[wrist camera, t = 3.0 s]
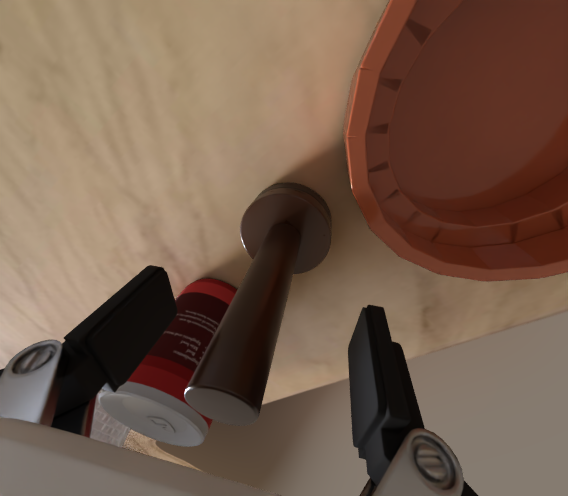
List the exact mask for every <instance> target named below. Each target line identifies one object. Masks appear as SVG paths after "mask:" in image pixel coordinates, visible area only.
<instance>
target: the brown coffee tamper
mask: <svg viewBox="0 0 568 496" xmlns="http://www.w3.org/2000/svg"><path fill="white" fill-rule="evenodd" d="M240 233H241V239H242V242H243V245H244V247H245V249H246V251H247V252H248V254H249V255H250V256H251V257H252V258H253V261H252V263H251V265H250V267H249V269H248V271H247V273H246V275H245V277H244V278H243V280H242V282H241V284H240V286H239V288H238V290H237V292H236V294H235V296H234V298H233V299H232V301H231V303H230V305H229V307H228V309H227V311H226V313H225V315H224V317H223V319H222V320H221V322H220V324H219V326H218V328H217V330H216V332H215V334H214V336H213V338H212V340H211V341H210V343H209V345H208V347H207V349H206V351H205V353H204V355H203V357H202V359H201V361H200V362H199V364H198V366H197V368H196V370H195V372H194V374H193V376H192V378H191V380H190V382H189V383H188V385H187V387H186V389H185V393H184V397H185V399H186V401H187V403H188V404H189V405H190V406H191V407H192V408H193V409H195V410H196V411H197V412H199V413H200V414H202V415H204V416H206V417H208V418H210V419H212V420H215V421H218V422H221V423H225V424H230V425H238V426H240V425H250V424H252V423H254V422H255V421H256V420H257V418H258V416H259V413H260V409H261V405H262V400H263V396H264V392H265V388H266V384H267V380H268V376H269V372H270V368H271V363H272V359H273V355H274V351H275V347H276V343H277V339H278V335H279V330H280V326H281V322H282V318H283V314H284V310H285V306H286V302H287V298H288V293H289V289H290V285H291V281H292V277H293V274H300V273H304V272H307V271H309V270H311V269H313V268H315V267H316V266H317V265H318V264H320V263H321V262H322V261H323V259H324V258H325V257H326V255H327V253H328V251H329V248H330V244H331V215H330V211H329V209H328V207H327V205H326V203H325V201H324V200H323V199H322V198H321V197H320V195H318V194H317V193H316V192H315V191H313V190H312V189H310V188H308V187H306V186H304V185H301V184H297V183H279V184H275V185H273V186H270V187H268V188H267V189H265V190H264V191H262V192H261V193H260V194H259V195H258V197H257V198H256V199H255V200H254V201H253V202H252V204H251V205H250V206H249V207H248V209H247V210H246V211H245V213H244V215H243V218H242V221H241V226H240Z"/></svg>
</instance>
